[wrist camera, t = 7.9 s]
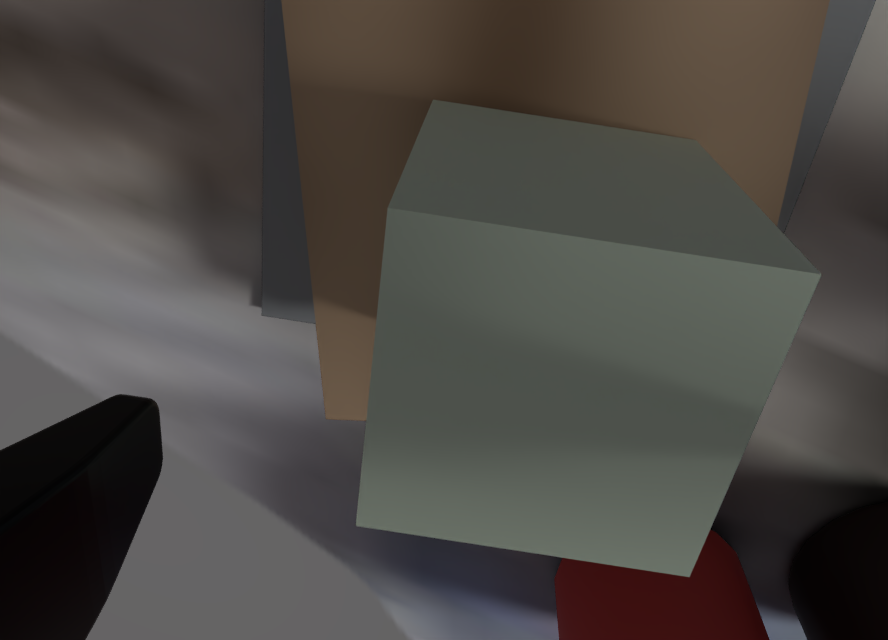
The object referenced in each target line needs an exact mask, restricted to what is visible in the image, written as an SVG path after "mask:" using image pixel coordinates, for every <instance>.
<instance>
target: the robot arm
mask: <svg viewBox="0 0 888 640" xmlns="http://www.w3.org/2000/svg"><path fill="white" fill-rule="evenodd" d="M162 460H163V452H162V439H161V427H160V414H159V408H158V405H157V403H156V402H155V401H154V400H153V399H150V398H145V397H138V396H131V395H124V394H119V395H115V396H113V397H110V398H108V399H106V400H104V401H102V402H100V403H98V404H96V405H94V406H92V407H89V408H87V409H85V410H83V411H81V412H79V413H77V414H75V415H73V416H71V417H69V418H67V419H64V420H62V421H61V422H58V423H56V424H54V425H52V426H50V427H48V428H46V429H44V430H42V431H40V432H38V433H35V434H33V435H31V436H29V437H27V438H25V439H23V440H21V441H19V442H17V443H15V444H12V445H10V446H9V447H6V448H4V449H2V450H0V640H85V639H86V638H87V636H88V634H89V632H90V630H91V629H92V627H93V625H94V623H95V622H96V620H97V618H98V616H99V614H100V612H101V610H102V608H103V606H104V604H105V602H106V601H107V599H108V596H109V594H110V592H111V590H112V587H113V585H114V583H115V581H116V578H117V576H118V573H119V571H120V569H121V567H122V564H123V562H124V559H125V557H126V555H127V552H128V550H129V547H130V545H131V543H132V540H133V538H134V536H135V533H136V531H137V528H138V526H139V524H140V521H141V519H142V516H143V514H144V512H145V509H146V507H147V505H148V502H149V500H150V498H151V495H152V493H153V490H154V488H155V486H156V483H157V481H158V478H159V476H160V472H161V468H162Z"/></svg>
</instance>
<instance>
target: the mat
mask: <svg viewBox="0 0 888 640" xmlns="http://www.w3.org/2000/svg"><path fill="white" fill-rule="evenodd" d="M875 1H876V0H830V1H829V6H828V10H827V14H826V18H825V23H824V27H823V31H822V36H821V40H820V44H819V48H818V53H817V57H816V61H815V66H814V70H813V74H812V78H811V83H810V87H809V91H808V96H807V100H806V104H805V108H804V113H803V117H802V121H801V126H800V130H799V134H798V138H797V143H796V147H795V151H794V156H793V160H792V164H791V168H790V173H789V177H788V181H787V186H786V190H785V194H784V198H783V203H782V207H781V211H780V216H779V220H778V224H777V227H778V228H779V229H780V230H781V232H782V233H783V234H784V232H785V229H786V227H787V224H788V222H789V219H790V216H791V214H792V211H793V209H794V206H795V204H796V201H797V199H798V196H799V194H800V191H801V189H802V186H803V184H804V181H805V179H806V176H807V173H808V171H809V168H810V166H811V163H812V161H813V158H814V156H815V153H816V151H817V148H818V146H819V143H820V141H821V138H822V136H823V133H824V130H825V128H826V125H827V123H828V120H829V118H830V115H831V113H832V110H833V108H834V105H835V103H836V100H837V98H838V95H839V92H840V90H841V87H842V85H843V82H844V80H845V77H846V75H847V72H848V70H849V67H850V65H851V62H852V60H853V57H854V55H855V52H856V49H857V47H858V44H859V42H860V39H861V37H862V34H863V32H864V29H865V27H866V24H867V22H868V19H869V17H870V14H871V12H872V9H873V6H874V4H875ZM262 316H267V317H274V318H280V319H287V320H293V321H300V322H306V323H313V324H316V321H315V312H314V303H313V293H312V284H311V274H310V265H309V256H308V246H307V237H306V227H305V218H304V209H303V199H302V190H301V180H300V171H299V162H298V152H297V143H296V133H295V124H294V115H293V105H292V96H291V86H290V77H289V67H288V58H287V49H286V39H285V30H284V20H283V11H282V2H281V0H265V5H264V114H263V223H262Z"/></svg>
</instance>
